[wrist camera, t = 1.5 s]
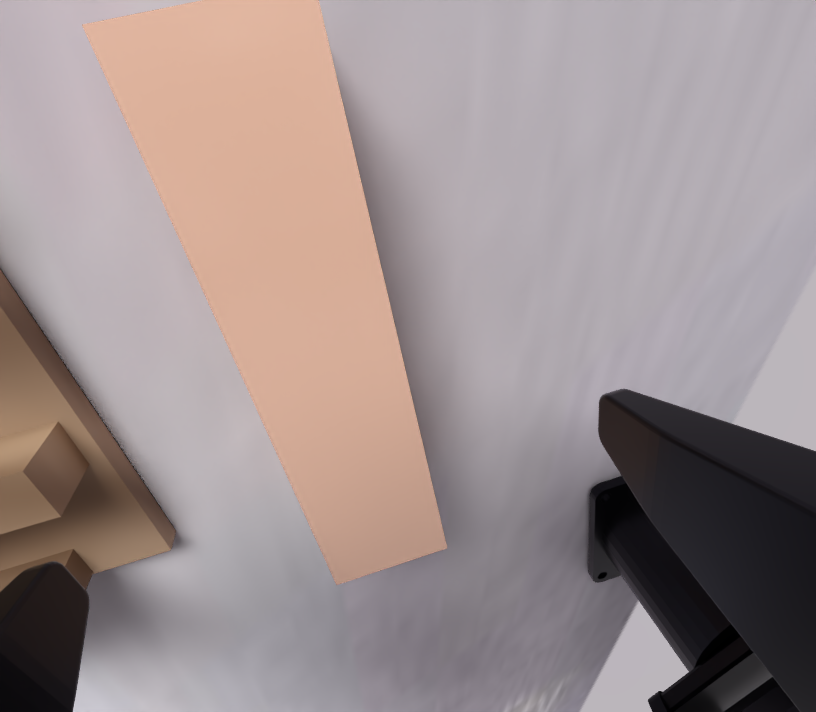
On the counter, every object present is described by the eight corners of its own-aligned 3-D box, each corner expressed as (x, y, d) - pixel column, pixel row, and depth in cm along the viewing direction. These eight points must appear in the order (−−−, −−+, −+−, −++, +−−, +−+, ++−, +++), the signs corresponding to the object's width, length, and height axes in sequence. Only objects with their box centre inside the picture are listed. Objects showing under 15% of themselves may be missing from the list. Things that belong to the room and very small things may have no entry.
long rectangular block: (416, 461, 18) (447, 548, 14) (326, 490, 17) (336, 585, 14) (304, 17, 11) (313, -23, 7) (149, 49, 10) (81, 24, 7)
